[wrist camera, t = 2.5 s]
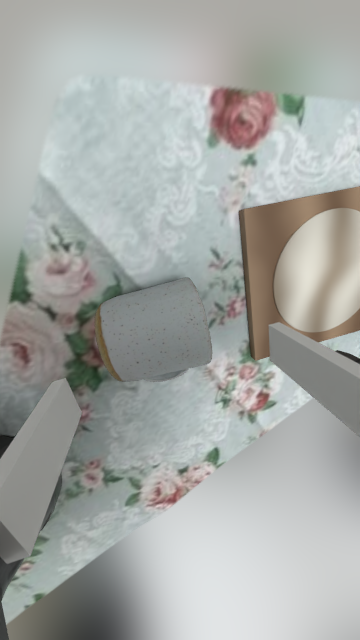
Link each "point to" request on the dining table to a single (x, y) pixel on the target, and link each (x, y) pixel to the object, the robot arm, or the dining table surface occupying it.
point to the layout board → (302, 267)
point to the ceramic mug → (153, 332)
